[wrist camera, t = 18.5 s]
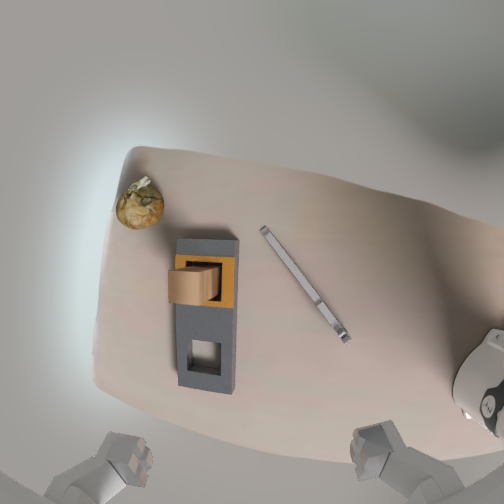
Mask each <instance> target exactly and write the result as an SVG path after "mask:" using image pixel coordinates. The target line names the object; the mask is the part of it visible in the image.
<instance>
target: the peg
mask: <svg viewBox="0 0 504 504" xmlns="http://www.w3.org/2000/svg"><path fill="white" fill-rule="evenodd" d="M221 272H222V267H221V266H202V265H195V266H190V267H184V268H179V269H174V270H168V298H169V303H176V304H186V305H195V306H199V305H201V304H203V303H204V302H206V301H208V300H209V299H211V298H213V297H215V296H216V295H218V294H220V293H221Z"/></svg>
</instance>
